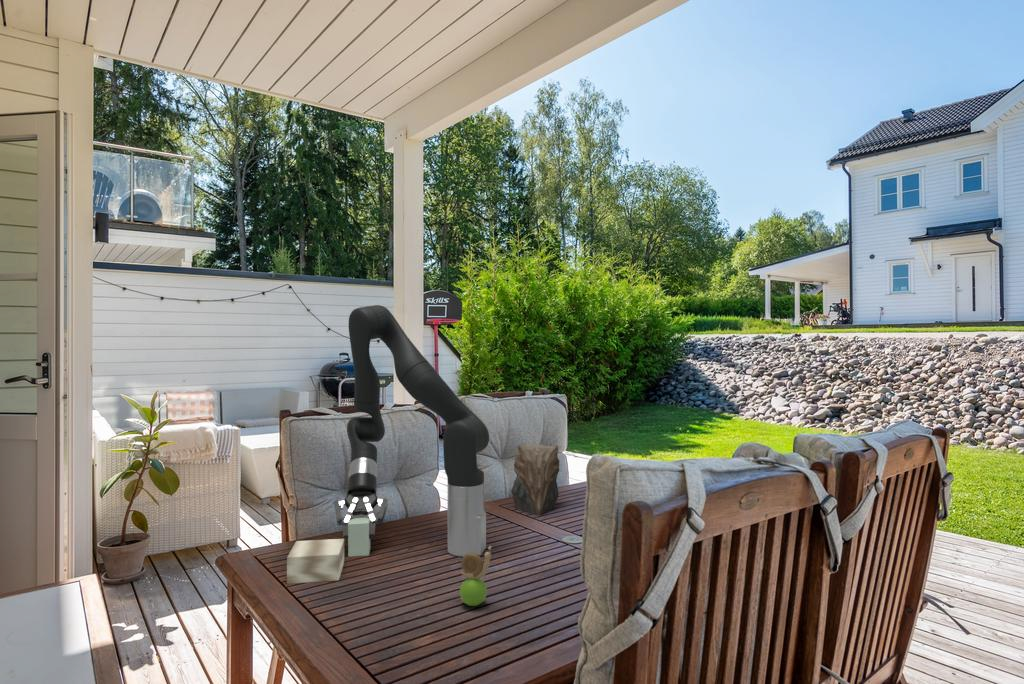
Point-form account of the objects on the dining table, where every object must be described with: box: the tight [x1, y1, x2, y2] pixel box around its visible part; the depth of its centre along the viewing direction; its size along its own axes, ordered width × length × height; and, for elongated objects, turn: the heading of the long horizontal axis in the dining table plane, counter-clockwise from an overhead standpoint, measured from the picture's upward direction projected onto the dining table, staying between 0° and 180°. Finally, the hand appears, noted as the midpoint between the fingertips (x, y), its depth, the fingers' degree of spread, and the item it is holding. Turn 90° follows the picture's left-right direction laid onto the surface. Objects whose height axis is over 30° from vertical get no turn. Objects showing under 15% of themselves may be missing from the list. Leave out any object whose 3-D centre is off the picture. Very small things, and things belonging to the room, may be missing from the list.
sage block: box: [347, 516, 371, 557], centre depth 151 cm, size 5×5×8 cm
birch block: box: [286, 538, 345, 585], centre depth 138 cm, size 11×11×6 cm
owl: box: [510, 443, 560, 517], centre depth 191 cm, size 13×13×20 cm
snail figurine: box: [459, 545, 492, 607], centre depth 121 cm, size 5×6×12 cm
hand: (358, 538), depth 149 cm, fingers closed on sage block, 5 cm apart
